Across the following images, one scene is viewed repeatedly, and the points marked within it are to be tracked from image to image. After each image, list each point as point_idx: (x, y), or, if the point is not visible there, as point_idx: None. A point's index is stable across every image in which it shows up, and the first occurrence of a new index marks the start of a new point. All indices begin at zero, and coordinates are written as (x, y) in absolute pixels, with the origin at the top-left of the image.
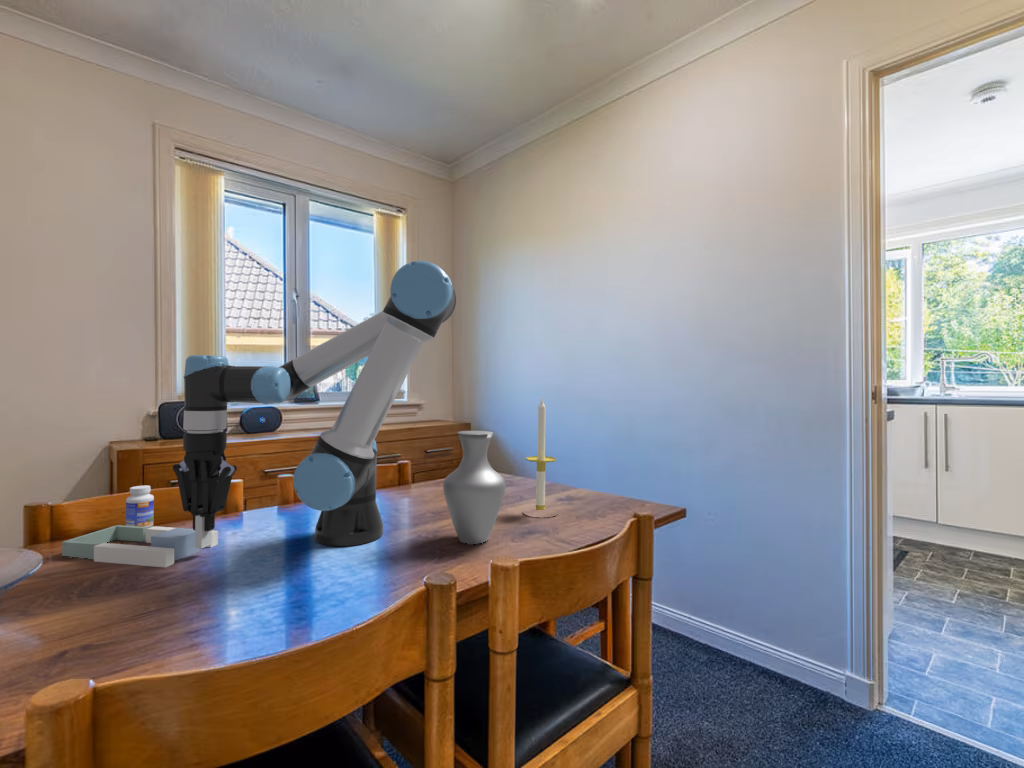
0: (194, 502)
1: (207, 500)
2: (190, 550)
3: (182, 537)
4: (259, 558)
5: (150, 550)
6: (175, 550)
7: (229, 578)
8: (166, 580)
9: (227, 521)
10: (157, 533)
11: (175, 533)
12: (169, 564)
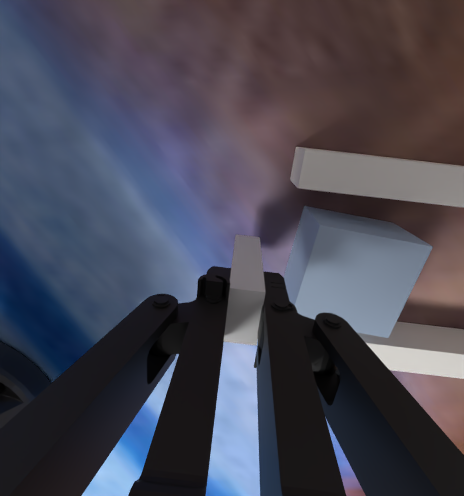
0: (281, 341)
1: (186, 343)
2: (292, 259)
3: (310, 252)
4: (79, 239)
5: (372, 159)
6: (310, 214)
7: (42, 77)
8: (221, 37)
9: (342, 468)
10: (458, 346)
11: (357, 281)
12: (293, 161)
